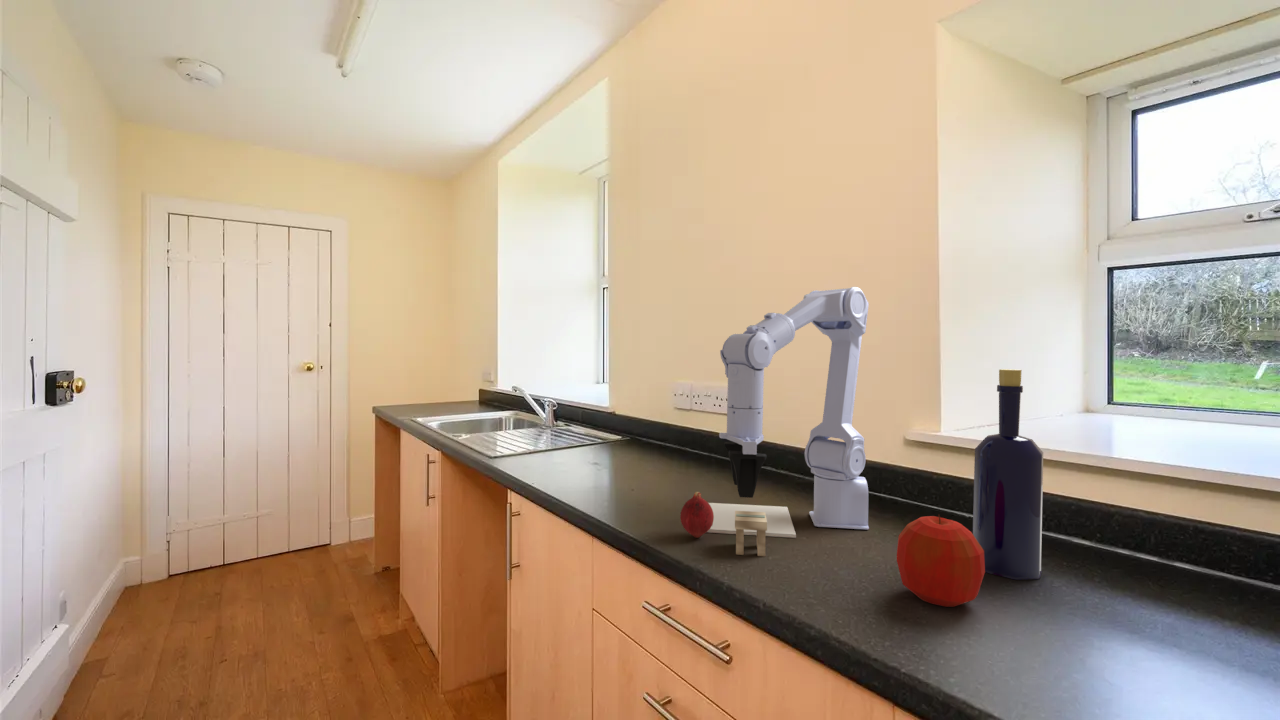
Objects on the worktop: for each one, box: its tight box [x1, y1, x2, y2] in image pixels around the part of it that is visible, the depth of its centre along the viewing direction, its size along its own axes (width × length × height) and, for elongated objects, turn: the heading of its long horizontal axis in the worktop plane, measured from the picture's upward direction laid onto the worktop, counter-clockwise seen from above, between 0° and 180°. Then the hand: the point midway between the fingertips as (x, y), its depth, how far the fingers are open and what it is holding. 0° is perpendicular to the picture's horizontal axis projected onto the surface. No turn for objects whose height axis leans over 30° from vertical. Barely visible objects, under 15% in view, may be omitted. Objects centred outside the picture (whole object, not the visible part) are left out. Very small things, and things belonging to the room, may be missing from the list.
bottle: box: [972, 368, 1044, 581], centre depth 81 cm, size 9×9×30 cm
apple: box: [896, 514, 986, 608], centre depth 70 cm, size 10×10×12 cm
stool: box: [735, 511, 767, 557], centre depth 88 cm, size 5×5×6 cm
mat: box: [706, 502, 797, 539], centre depth 102 cm, size 16×16×1 cm
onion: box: [679, 491, 714, 539], centre depth 93 cm, size 6×6×8 cm
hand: (743, 490), depth 87 cm, fingers open, 7 cm apart
